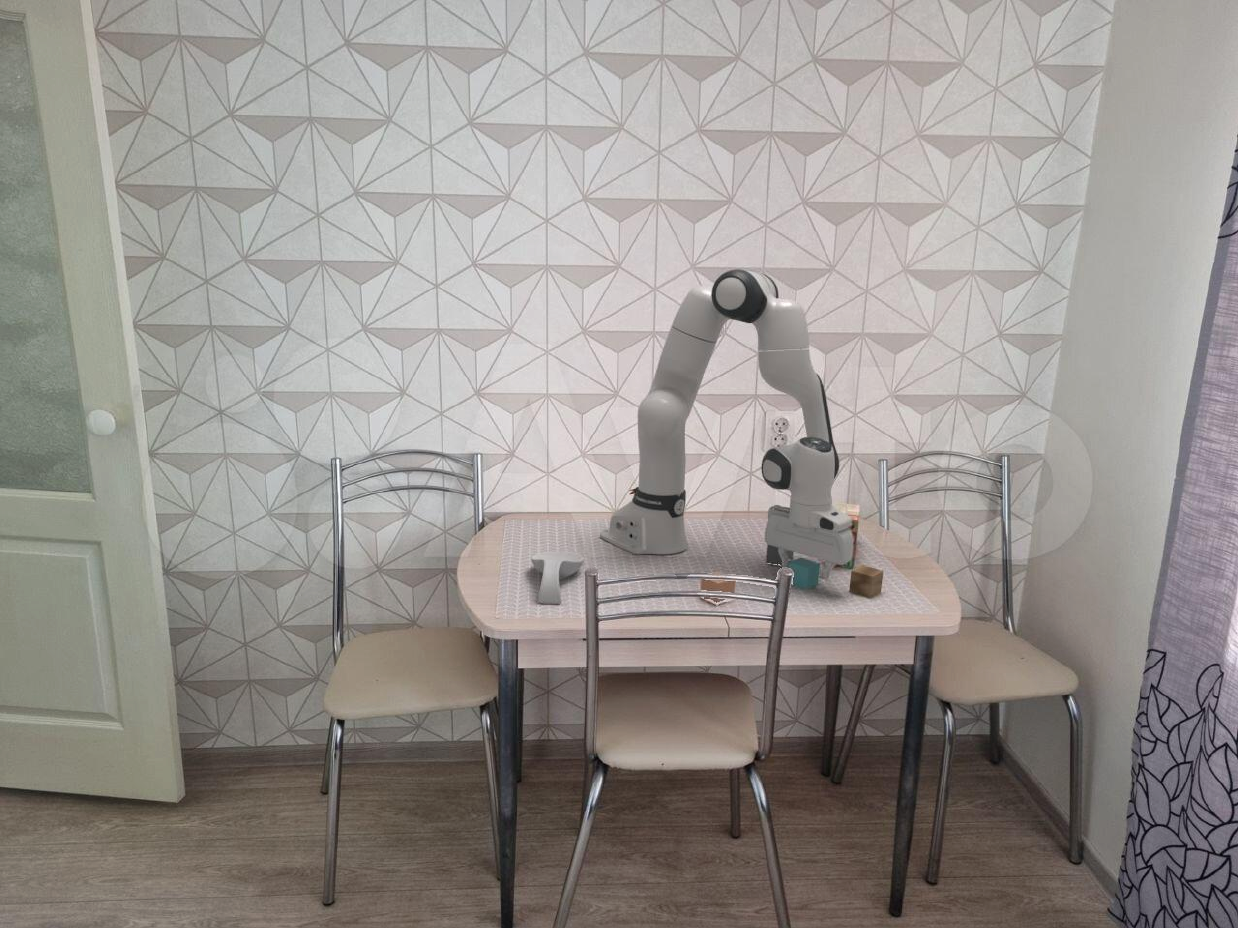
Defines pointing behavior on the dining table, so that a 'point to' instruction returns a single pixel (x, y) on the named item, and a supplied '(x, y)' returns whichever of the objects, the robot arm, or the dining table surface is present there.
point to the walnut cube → (866, 581)
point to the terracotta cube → (717, 586)
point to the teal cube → (805, 573)
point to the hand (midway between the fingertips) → (805, 572)
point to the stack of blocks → (850, 527)
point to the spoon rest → (555, 572)
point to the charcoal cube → (776, 555)
